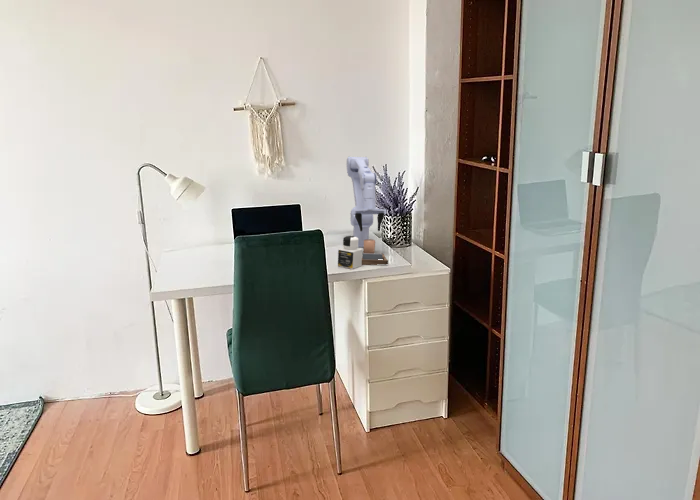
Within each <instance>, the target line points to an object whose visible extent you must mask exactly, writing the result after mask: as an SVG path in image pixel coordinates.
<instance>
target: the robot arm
mask: <svg viewBox="0 0 700 500" xmlns="http://www.w3.org/2000/svg"><path fill="white" fill-rule="evenodd" d="M369 165H370V164H369V158H368V157H367V156H351V155H349V156H348V157H347V158H346V173H347V176H348V177H350V178H351V182H352V188H353V189H352V190H353V197H354V198H353V199H354V204H355V205H354V207H352V208H351V210H350V213H349V214H350V218H349V219H350V225H351V226H353V233H352V234H353V235H352V236H355V237H357V238H358V248H364V240H365V239H370V236H369V235H370V228H371V227H372V225H373V224H374V215H377V219H376V220H377V232H380V231H381V225H382V222H383V218H384V216H385V215H386V214H387V209H385V208H382V209H381V208H377V203H376V202H377V201H376V200H377V199H376V186H377V182H378V180H377V173H376V172H372V170H371V168H370V167H369Z"/></svg>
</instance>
